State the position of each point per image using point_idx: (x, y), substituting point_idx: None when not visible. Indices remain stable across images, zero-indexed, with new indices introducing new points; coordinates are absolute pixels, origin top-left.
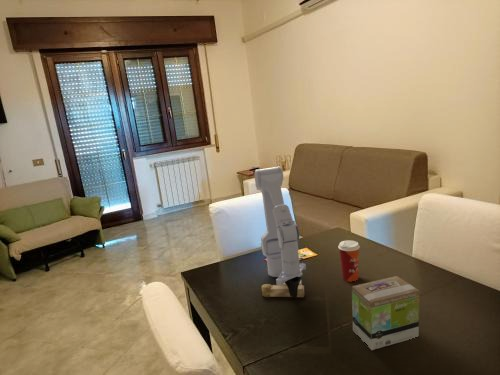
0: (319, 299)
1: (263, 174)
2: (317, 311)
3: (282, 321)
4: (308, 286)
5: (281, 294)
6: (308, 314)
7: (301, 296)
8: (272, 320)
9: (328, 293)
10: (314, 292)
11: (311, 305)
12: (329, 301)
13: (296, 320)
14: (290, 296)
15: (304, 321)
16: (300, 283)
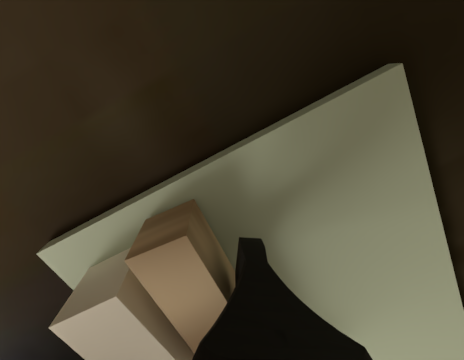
0: (127, 99)
1: None
2: (285, 30)
3: (460, 185)
4: (29, 245)
5: None
6: (345, 76)
7: (201, 215)
8: (460, 234)
9: (4, 74)
10: (67, 177)
11: (229, 114)
12: (105, 5)
13: (435, 116)
14: (234, 272)
15: (436, 59)
16: (118, 297)
